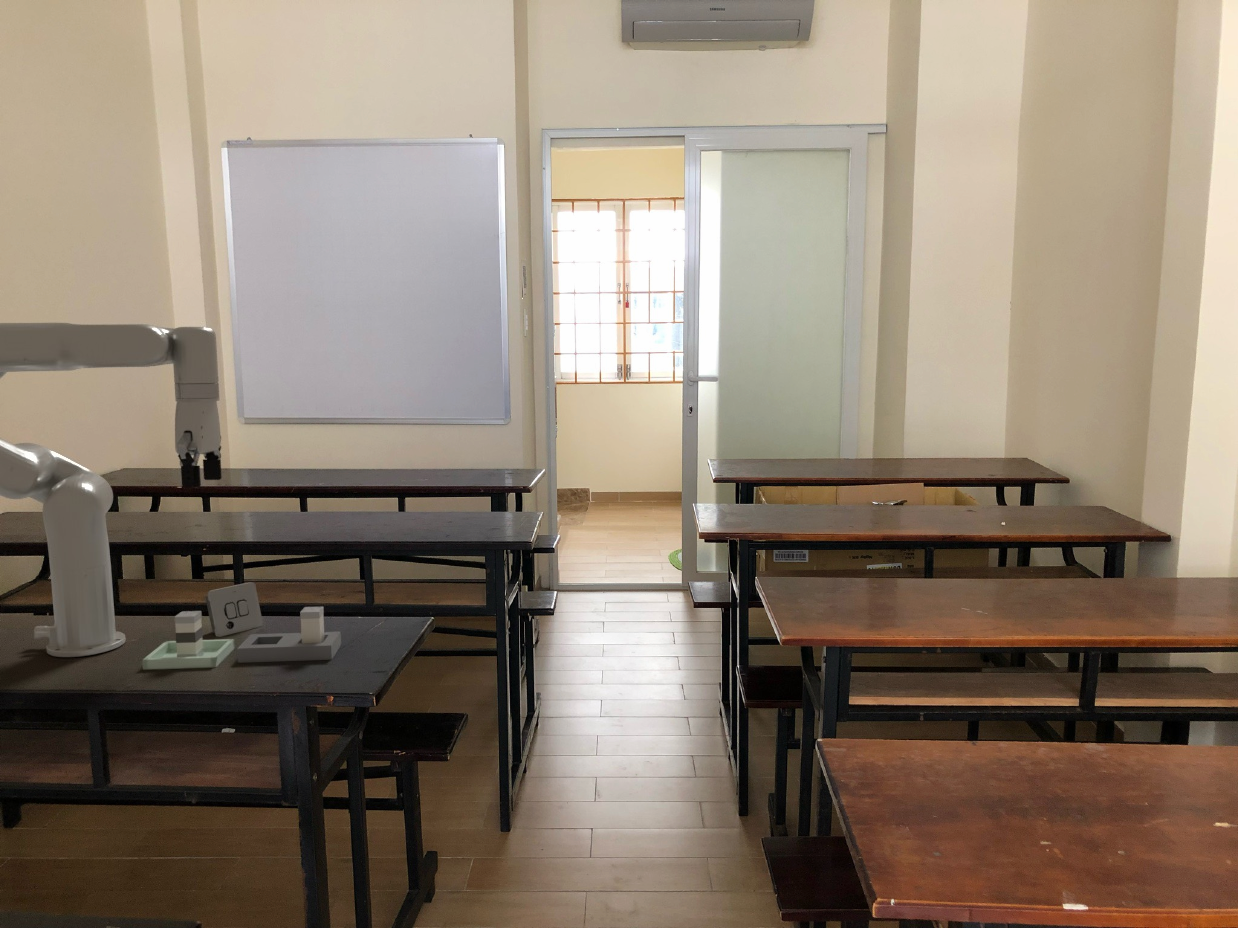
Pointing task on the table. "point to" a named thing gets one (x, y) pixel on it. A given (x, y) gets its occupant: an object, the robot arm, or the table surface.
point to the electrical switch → (234, 609)
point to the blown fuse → (189, 634)
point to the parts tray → (168, 657)
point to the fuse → (312, 624)
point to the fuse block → (287, 648)
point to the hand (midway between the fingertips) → (202, 483)
